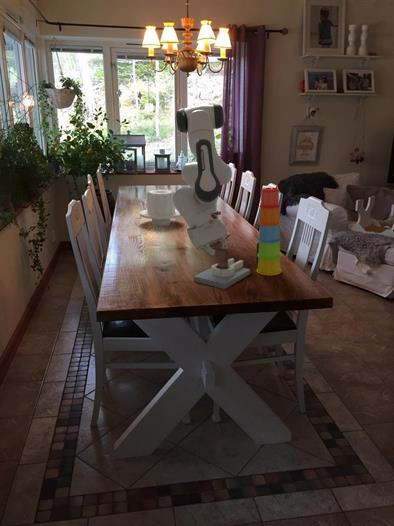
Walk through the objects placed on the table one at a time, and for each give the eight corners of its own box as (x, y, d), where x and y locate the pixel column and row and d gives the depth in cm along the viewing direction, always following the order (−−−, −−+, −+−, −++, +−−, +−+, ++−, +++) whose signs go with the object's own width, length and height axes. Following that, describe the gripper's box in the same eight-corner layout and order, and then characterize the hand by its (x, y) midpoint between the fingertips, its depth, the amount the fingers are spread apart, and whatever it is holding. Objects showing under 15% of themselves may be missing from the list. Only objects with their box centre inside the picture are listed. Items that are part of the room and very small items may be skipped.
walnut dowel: (221, 270, 177) (221, 246, 174) (229, 272, 175) (230, 248, 172) (215, 272, 174) (216, 248, 171) (224, 274, 172) (225, 250, 169)
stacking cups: (275, 277, 175) (281, 191, 164) (252, 272, 180) (256, 188, 169) (285, 270, 183) (291, 187, 172) (262, 266, 189) (267, 185, 177)
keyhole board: (223, 266, 188) (223, 256, 186) (251, 272, 180) (252, 262, 179) (193, 280, 171) (193, 270, 170) (224, 289, 164) (224, 277, 162)
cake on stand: (143, 218, 272) (142, 187, 266) (183, 219, 271) (183, 188, 265) (136, 228, 248) (135, 195, 242) (180, 229, 247) (180, 195, 241)
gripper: (189, 224, 165) (211, 253, 163) (218, 214, 181) (238, 240, 179) (180, 233, 169) (201, 262, 167) (209, 223, 185) (228, 249, 183)
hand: (220, 251), depth 173 cm, fingers open, 8 cm apart
